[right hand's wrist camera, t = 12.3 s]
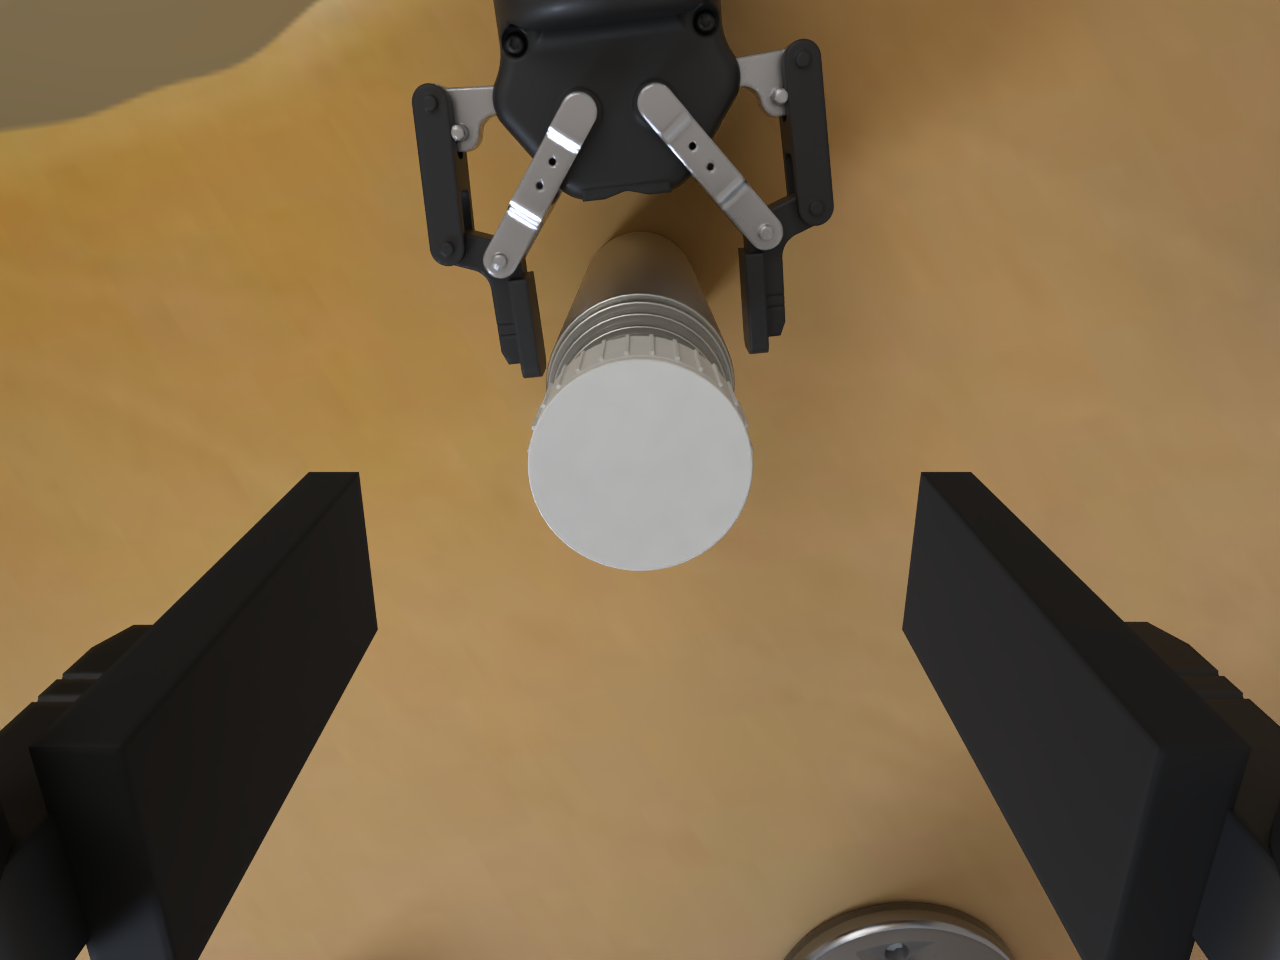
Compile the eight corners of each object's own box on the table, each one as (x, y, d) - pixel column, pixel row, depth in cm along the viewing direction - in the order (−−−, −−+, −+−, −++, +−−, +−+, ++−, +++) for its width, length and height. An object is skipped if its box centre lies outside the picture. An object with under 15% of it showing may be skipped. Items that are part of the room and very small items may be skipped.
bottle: (707, 245, 39) (793, 370, 17) (681, 353, 41) (729, 594, 19) (596, 220, 38) (540, 315, 17) (575, 330, 40) (498, 548, 18)
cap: (766, 357, 19) (782, 384, 17) (715, 545, 20) (723, 592, 18) (558, 312, 18) (547, 333, 16) (522, 507, 20) (507, 550, 18)
